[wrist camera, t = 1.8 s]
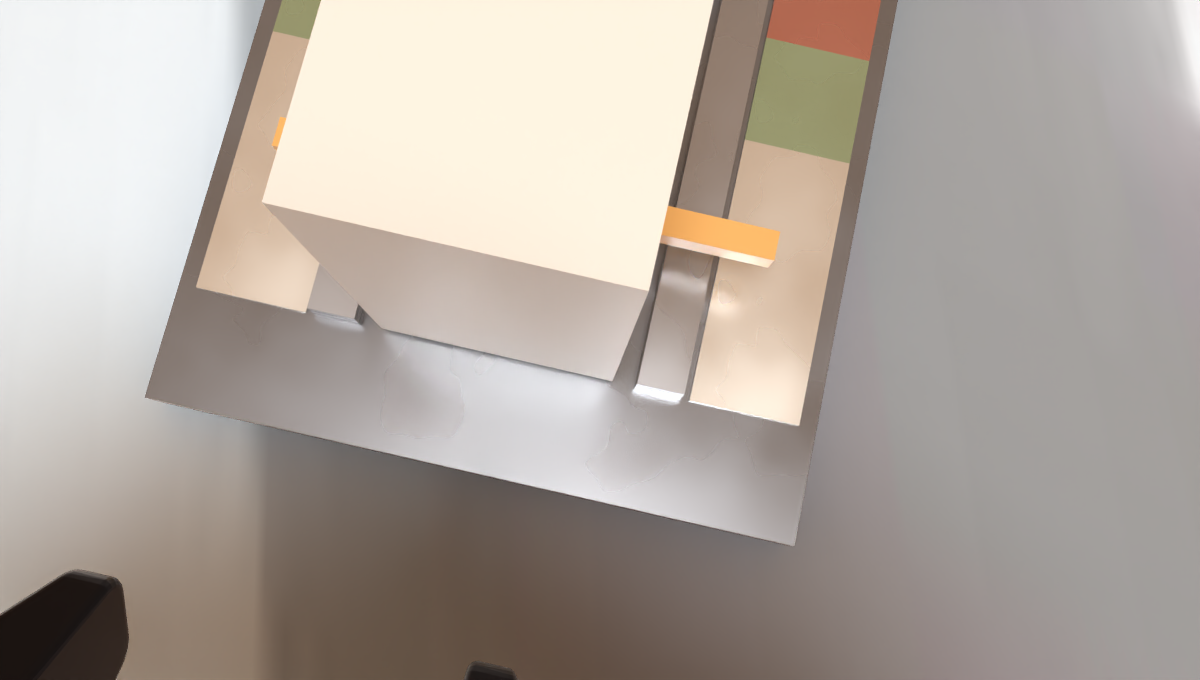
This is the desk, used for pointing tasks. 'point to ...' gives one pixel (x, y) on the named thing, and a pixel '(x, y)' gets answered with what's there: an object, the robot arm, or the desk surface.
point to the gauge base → (661, 334)
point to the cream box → (499, 168)
